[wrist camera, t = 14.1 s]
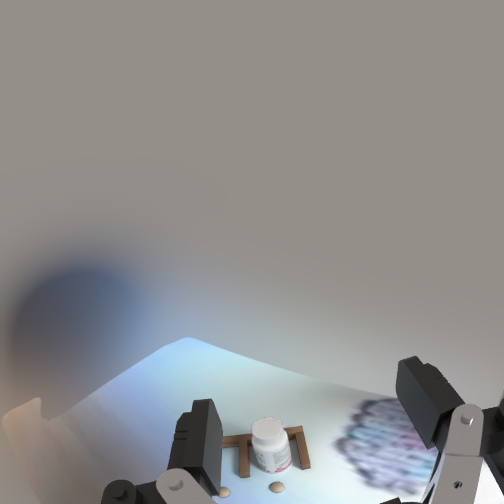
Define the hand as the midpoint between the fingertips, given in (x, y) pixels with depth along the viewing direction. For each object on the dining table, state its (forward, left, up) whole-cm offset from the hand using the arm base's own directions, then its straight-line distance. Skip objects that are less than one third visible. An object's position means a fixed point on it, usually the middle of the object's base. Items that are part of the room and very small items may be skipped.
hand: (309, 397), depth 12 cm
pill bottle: (+4, -17, -30) cm, 35 cm away
